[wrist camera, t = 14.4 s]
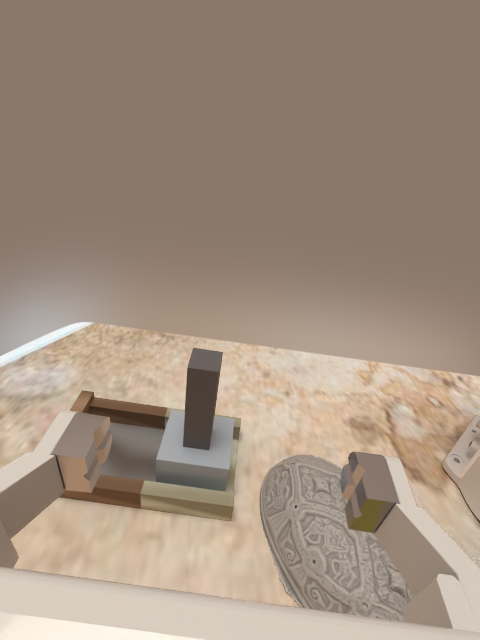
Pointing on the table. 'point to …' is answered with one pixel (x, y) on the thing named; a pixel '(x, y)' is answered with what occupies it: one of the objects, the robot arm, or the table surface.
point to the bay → (147, 463)
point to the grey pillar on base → (197, 431)
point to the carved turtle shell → (326, 544)
